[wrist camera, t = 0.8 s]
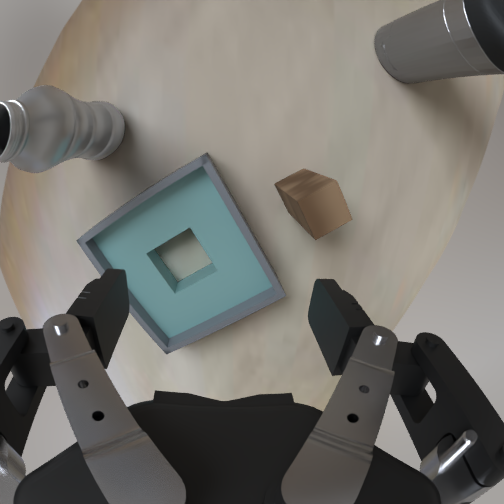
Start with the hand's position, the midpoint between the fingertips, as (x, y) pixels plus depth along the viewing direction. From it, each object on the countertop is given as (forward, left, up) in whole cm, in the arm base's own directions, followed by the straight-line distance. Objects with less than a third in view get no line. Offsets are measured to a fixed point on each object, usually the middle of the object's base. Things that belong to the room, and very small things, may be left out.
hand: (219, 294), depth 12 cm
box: (+7, +4, -23) cm, 24 cm away
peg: (-9, +4, -23) cm, 25 cm away
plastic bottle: (+7, -14, -23) cm, 28 cm away
